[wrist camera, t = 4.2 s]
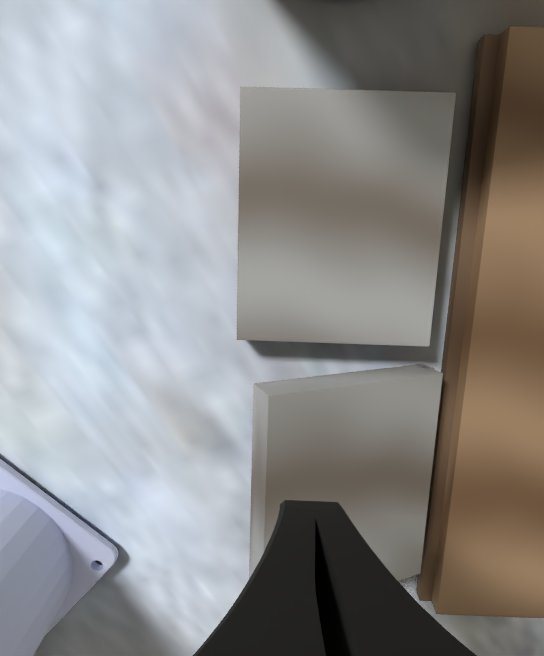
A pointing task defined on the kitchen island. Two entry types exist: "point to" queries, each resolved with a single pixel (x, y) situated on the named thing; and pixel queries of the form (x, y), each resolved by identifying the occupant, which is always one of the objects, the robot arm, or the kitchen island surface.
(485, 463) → the board
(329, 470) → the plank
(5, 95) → the kitchen island surface
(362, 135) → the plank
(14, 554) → the robot arm
